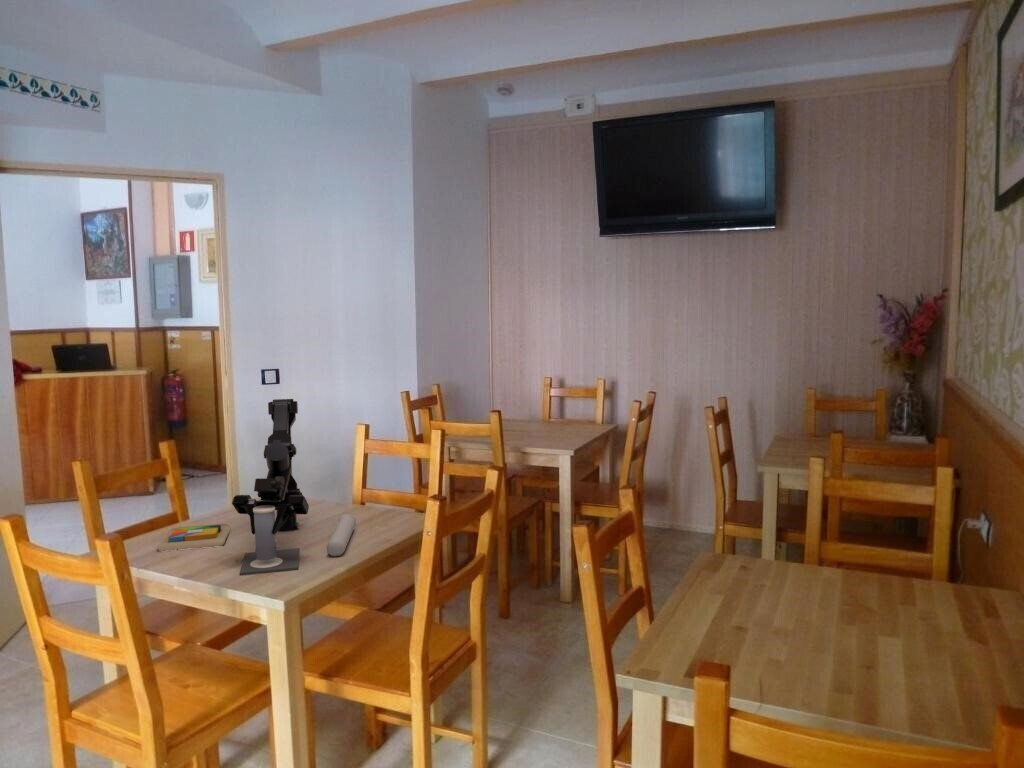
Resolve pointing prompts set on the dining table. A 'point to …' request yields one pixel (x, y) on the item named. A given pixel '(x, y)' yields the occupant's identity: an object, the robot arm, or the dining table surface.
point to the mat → (271, 562)
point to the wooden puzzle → (195, 537)
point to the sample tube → (264, 532)
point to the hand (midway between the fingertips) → (263, 533)
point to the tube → (341, 535)
